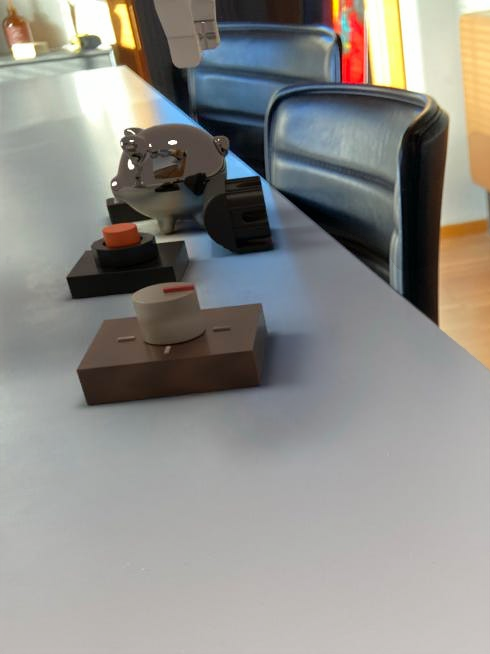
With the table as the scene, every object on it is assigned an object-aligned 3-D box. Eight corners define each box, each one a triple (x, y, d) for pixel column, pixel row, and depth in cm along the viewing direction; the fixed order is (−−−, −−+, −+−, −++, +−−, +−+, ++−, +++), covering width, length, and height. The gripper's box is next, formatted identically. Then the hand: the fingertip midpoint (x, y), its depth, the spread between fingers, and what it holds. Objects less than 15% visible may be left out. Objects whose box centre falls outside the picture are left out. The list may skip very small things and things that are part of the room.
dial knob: (138, 347, 84) (125, 301, 81) (147, 326, 88) (135, 282, 85) (201, 340, 84) (190, 294, 82) (208, 320, 88) (197, 275, 86)
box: (72, 298, 106) (60, 259, 104) (91, 270, 114) (80, 233, 112) (178, 287, 107) (168, 248, 104) (189, 260, 115) (180, 223, 112)
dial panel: (87, 405, 82) (75, 367, 81) (113, 352, 92) (103, 317, 90) (259, 385, 83) (251, 348, 81) (268, 335, 93) (261, 300, 91)
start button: (103, 251, 107) (98, 233, 106) (109, 241, 110) (105, 224, 109) (138, 247, 107) (133, 230, 106) (143, 238, 110) (138, 221, 109)
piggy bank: (126, 223, 131) (100, 124, 124) (243, 207, 133) (223, 110, 126) (120, 245, 122) (91, 141, 115) (245, 229, 124) (224, 125, 117)
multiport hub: (197, 211, 133) (192, 192, 132) (111, 224, 131) (106, 205, 129) (194, 204, 136) (190, 186, 135) (110, 216, 134) (105, 198, 133)
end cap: (211, 236, 122) (197, 175, 118) (269, 228, 123) (258, 168, 119) (211, 258, 115) (196, 195, 111) (274, 250, 115) (262, 186, 111)
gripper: (129, -182, 72) (177, 43, 80) (55, -205, 55) (126, 82, 63) (218, -190, 72) (257, 36, 80) (172, -214, 55) (227, 73, 64)
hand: (199, 57), depth 72 cm, fingers open, 8 cm apart
